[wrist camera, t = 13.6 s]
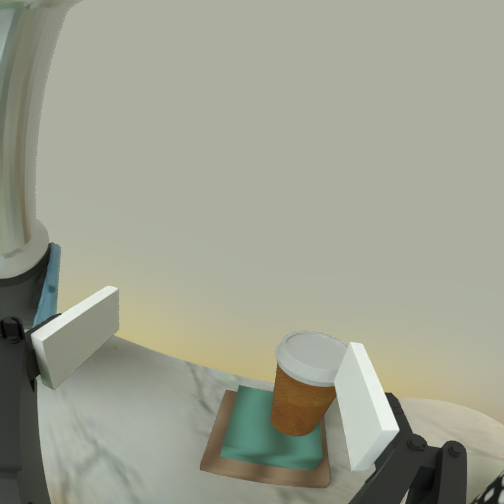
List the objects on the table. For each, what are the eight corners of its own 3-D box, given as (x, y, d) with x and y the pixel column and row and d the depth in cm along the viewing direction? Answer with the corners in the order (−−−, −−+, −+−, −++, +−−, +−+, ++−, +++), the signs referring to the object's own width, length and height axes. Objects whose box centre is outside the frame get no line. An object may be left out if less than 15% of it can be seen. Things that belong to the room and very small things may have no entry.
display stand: (199, 469, 26) (202, 450, 25) (224, 396, 42) (228, 374, 41) (325, 487, 25) (339, 469, 24) (319, 412, 41) (328, 392, 40)
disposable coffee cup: (250, 435, 29) (271, 360, 26) (265, 392, 38) (284, 322, 36) (325, 451, 27) (362, 379, 25) (327, 406, 36) (354, 338, 34)
